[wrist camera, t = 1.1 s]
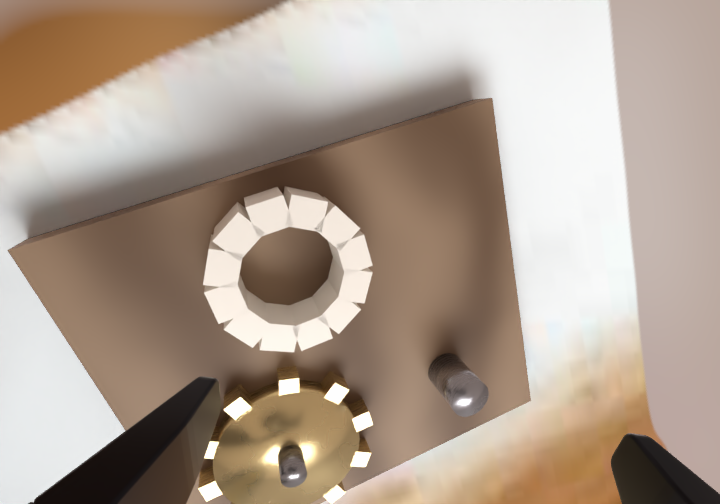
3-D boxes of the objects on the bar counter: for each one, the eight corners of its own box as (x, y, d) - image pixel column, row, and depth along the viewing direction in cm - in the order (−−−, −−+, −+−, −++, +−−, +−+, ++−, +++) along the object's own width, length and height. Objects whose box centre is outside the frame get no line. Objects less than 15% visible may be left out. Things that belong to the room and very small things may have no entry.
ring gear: (241, 349, 18) (242, 375, 16) (181, 217, 16) (174, 230, 14) (371, 297, 19) (386, 316, 17) (334, 168, 17) (347, 173, 15)
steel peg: (432, 390, 22) (456, 422, 20) (424, 362, 21) (449, 392, 19) (463, 376, 22) (491, 406, 20) (457, 347, 22) (485, 375, 19)
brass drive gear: (235, 532, 21) (236, 577, 19) (166, 413, 18) (157, 452, 16) (383, 460, 23) (399, 495, 20) (343, 340, 19) (356, 367, 17)
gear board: (210, 531, 22) (208, 557, 21) (27, 239, 16) (7, 250, 14) (515, 386, 26) (530, 400, 25) (473, 99, 19) (492, 98, 18)
